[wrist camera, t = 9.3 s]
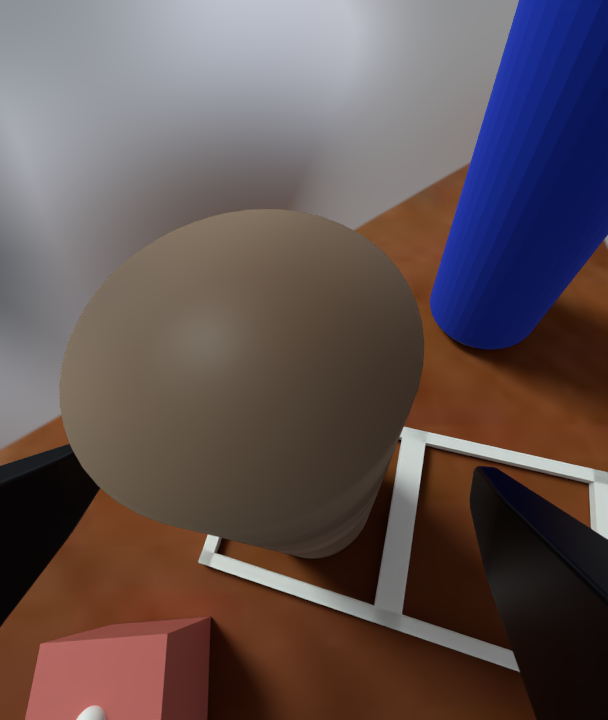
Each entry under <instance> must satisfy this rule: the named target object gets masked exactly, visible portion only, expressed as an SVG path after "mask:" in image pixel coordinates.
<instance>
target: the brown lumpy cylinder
mask: <svg viewBox="0 0 608 720" xmlns="http://www.w3.org/2000/svg"><path fill="white" fill-rule="evenodd" d="M423 357H424V337H423V328H422V321H421V317H420V314H419V310H418V306H417V303H416V300H415V298H414V296H413V294H412V291H411V289H410V287H409V285H408V283H407V282H406V280H405V278H404V277H403V275H402V274H401V272H400V271H399V269H398V268H397V267H396V266H395V264H394V263H393V262H392V261H391V260H390V259H389V257H388V256H387V255H386V254H385V253H384V252H383V251H381V250H380V249H379V248H378V247H377V246H376V245H375V244H373V243H372V242H371V241H369V240H368V239H366V238H365V237H363V236H362V235H360V234H359V233H357V232H356V231H354V230H352V229H350V228H347V227H346V226H344V225H342V224H340V223H337V222H334V221H332V220H329V219H326V218H324V217H320V216H316V215H312V214H308V213H304V212H297V211H290V210H276V209H259V210H244V211H237V212H230V213H226V214H221V215H217V216H212V217H209V218H206V219H202V220H200V221H197V222H193V223H191V224H188V225H186V226H184V227H181V228H179V229H176V230H174V231H172V232H170V233H168V234H166V235H164V236H163V237H161V238H159V239H157V240H155V241H154V242H152V243H151V244H149V245H148V246H146V247H144V248H143V249H141V250H140V251H139V252H137V253H136V254H135V255H134V256H132V257H131V258H130V259H128V260H127V261H126V262H125V263H124V264H122V265H121V266H120V267H119V268H118V269H117V270H116V271H115V272H114V273H113V274H112V275H111V276H110V277H109V278H108V279H107V280H106V281H105V283H104V284H103V285H102V286H101V287H100V288H99V289H98V291H97V292H96V293H95V295H94V296H93V297H92V299H91V300H90V302H89V303H88V305H87V306H86V307H85V309H84V311H83V313H82V314H81V316H80V318H79V320H78V322H77V323H76V325H75V328H74V330H73V333H72V335H71V337H70V340H69V342H68V345H67V349H66V352H65V356H64V360H63V364H62V371H61V378H60V408H61V414H62V419H63V425H64V429H65V431H66V434H67V437H68V440H69V443H70V445H71V448H72V450H73V451H74V453H75V455H76V457H77V458H78V460H79V462H80V464H81V466H82V467H83V468H84V470H85V471H86V472H87V473H88V474H89V476H90V477H91V478H92V479H93V480H94V482H95V483H96V484H97V485H98V486H99V487H100V488H101V489H103V490H104V491H105V492H106V493H107V494H108V495H110V496H111V497H112V498H113V499H114V500H115V501H117V502H119V503H120V504H122V505H124V506H125V507H127V508H129V509H131V510H132V511H134V512H136V513H137V514H140V515H142V516H145V517H147V518H150V519H153V520H155V521H158V522H161V523H163V524H167V525H171V526H175V527H179V528H183V529H188V530H192V531H196V532H200V533H204V534H208V535H212V536H216V537H220V538H224V539H228V540H233V541H237V542H241V543H245V544H249V545H253V546H257V547H261V548H265V549H269V550H273V551H278V552H282V553H286V554H290V555H294V556H298V557H303V558H311V559H317V558H324V557H329V556H332V555H334V554H337V553H339V552H340V551H342V550H344V549H345V548H347V547H348V546H349V545H350V544H352V543H353V541H354V540H355V539H356V538H357V537H358V536H359V534H360V533H361V531H362V530H363V528H364V526H365V524H366V521H367V519H368V516H369V514H370V511H371V509H372V506H373V504H374V501H375V499H376V496H377V493H378V491H379V488H380V486H381V483H382V481H383V478H384V476H385V473H386V471H387V468H388V465H389V463H390V460H391V458H392V455H393V453H394V450H395V448H396V445H397V443H398V440H399V437H400V435H401V432H402V430H403V427H404V425H405V422H406V420H407V417H408V415H409V412H410V409H411V407H412V404H413V401H414V399H415V396H416V393H417V391H418V388H419V383H420V378H421V373H422V368H423Z"/></svg>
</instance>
